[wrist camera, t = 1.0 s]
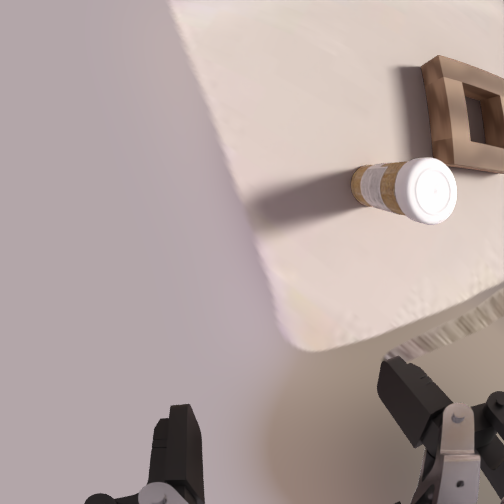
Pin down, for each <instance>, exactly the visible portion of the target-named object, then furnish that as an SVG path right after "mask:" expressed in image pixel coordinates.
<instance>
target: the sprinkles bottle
mask: <svg viewBox="0 0 504 504" xmlns="http://www.w3.org/2000/svg"><path fill="white" fill-rule="evenodd" d="M351 189H352V193H353V195H354V197H355V198H356V200H358V201H359V202H360V203H361V204H363V205H366V206H373V207H375V208H378V209H382V210H385V211H389V212H392V213H396V214H399V215H405V216H407V217H408V218H410V219H412V220H414V221H417V222H420V223H424V224H428V225H434V224H438V223H441V222H443V221H444V220H445V219H447V218H448V217H449V215H450V214H451V213H452V211H453V209H454V207H455V204H456V199H457V186H456V182H455V179H454V176H453V174H452V172H451V171H450V169H449V168H448V167H447V166H446V165H445V164H444V163H443V162H441V161H440V160H438V159H435V158H429V157H428V158H416V159H412V160H410V161H408V162H399V163H398V162H397V163H382V164H375V165H365V166H362V167H360V168H359V169H358V170H357V171H356V172H355V173H354V175H353V177H352V180H351Z"/></svg>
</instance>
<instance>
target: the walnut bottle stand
mask: <svg viewBox="0 0 504 504" xmlns="http://www.w3.org/2000/svg"><path fill="white" fill-rule="evenodd" d="M421 70H422V75H423V80H424V85H425V91H426V97H427V104H428V111H429V119H430V128H431V139H432V152H433V158H435V159H438V160H440V161H441V162H443V163H444V164H445V165H446V166H449V167H458V168H466V169H473V170H480V171H487V172H494V173H500V174H504V79H503V78H501V77H499V76H496V75H494V74H492V73H489V72H487V71H484V70H482V69H479V68H476V67H474V66H471V65H468V64H466V63H463V62H460V61H457V60H454V59H450V58H447V57H444V56H441V55H437V56H436V57H434V58H433V59H431V60H430V61H428V62H427V63H425V64H424V65H422V66H421ZM465 97H469V98H472V99H475V100H478V101H480V104H481V110H482V117H483V124H484V133H485V143H486V144H481V143H477V142H472V141H471V139H470V130H469V121H468V114H467V107H466V101H465Z"/></svg>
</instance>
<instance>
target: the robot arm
mask: <svg viewBox="0 0 504 504" xmlns="http://www.w3.org/2000/svg"><path fill="white" fill-rule="evenodd" d="M377 391H378V395H379V397H380V399H381V400H382V402H383V403H384V405H385V406H386V408H387V409H388V410H389V412H390V413H391V415H392V416H393V418H394V419H395V421H396V422H397V424H398V425H399V426H400V428H401V429H402V431H403V432H404V434H405V435H406V437H407V438H408V440H409V441H410V443H411V444H412V445H413V447H414V448H417V447H418V446H420V445H422V444H423V445H424V446H425V447H426V448H425V450H424V455H423V461H422V467H421V472H420V477H419V481H418V485H417V488H416V491H415V493H414V495H413V497H412V500H411V503H410V504H477V499H478V490H479V478H480V468H481V470H482V471H483V472H484V474H485V476H486V477H487V479H488V480H489V481H490V483H491V485H492V486H493V488H494V489H495V491H496V492H497V494H498V496H499V497H500V499H501V503H500V504H504V445H503V443H502V442H501V441H500V440H499V438H498V437H497V436H496V434H497V432H498V434H499V435H500V436H501V437H502V439H503V440H504V392H502V391H497V392H494V393H492V394H491V395H490V396H489V397H488V399H487V402H486V403H483V404H480V405H477V406H473V407H469V406H468V405H466V404H464V403H453V402H452V401H451V400H450V399H449V398H448V397H447V396H446V394H445V393H444V392H443V391H442V390H441V389H440V388H439V387H438V386H437V385H436V384H435V383H434V382H433V381H432V380H431V378H429V377H428V376H427V374H426V373H425V372H424V371H423V370H422V369H421V368H420V367H418V366H416V365H413V364H412V363H409V364H407V363H406V362H405V361H404V360H403V359H402V358H401V357H400V356H396V357H393V358H391V359H388V360H385V361H383V362H382V363H381V367H380V373H379V379H378V384H377ZM85 504H205V498H204V481H203V460H202V437H201V432H200V428H199V425H198V422H197V420H196V418H195V415H194V413H193V410H192V408H191V406H190V404H183V405H173V406H171V407H170V414H169V418H165V419H160V420H159V422H158V423H157V425H156V427H155V429H154V435H153V443H152V451H151V459H150V469H149V479H148V483H147V485H146V486H145V487H143V488H142V489H141V491H140V492H139V493H137V494H135V495H132V496H127V497H123V498H117V499H113V498H112V497H111V496H109V495H107V494H101V493H100V494H94V495H92V496H90V497H89V498H88V499H87V500H86V501H85ZM395 504H401V503H400V502H397V503H395Z"/></svg>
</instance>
